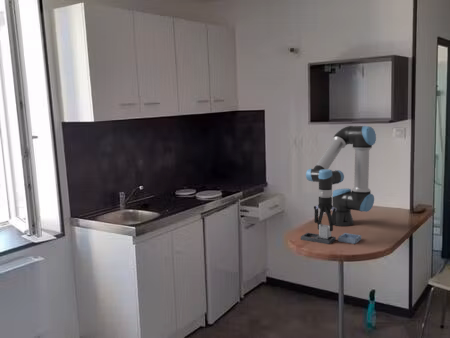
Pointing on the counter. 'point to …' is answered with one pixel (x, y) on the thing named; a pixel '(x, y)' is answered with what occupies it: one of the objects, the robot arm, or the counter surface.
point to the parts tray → (349, 238)
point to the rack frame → (316, 238)
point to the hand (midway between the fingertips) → (325, 235)
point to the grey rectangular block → (324, 232)
